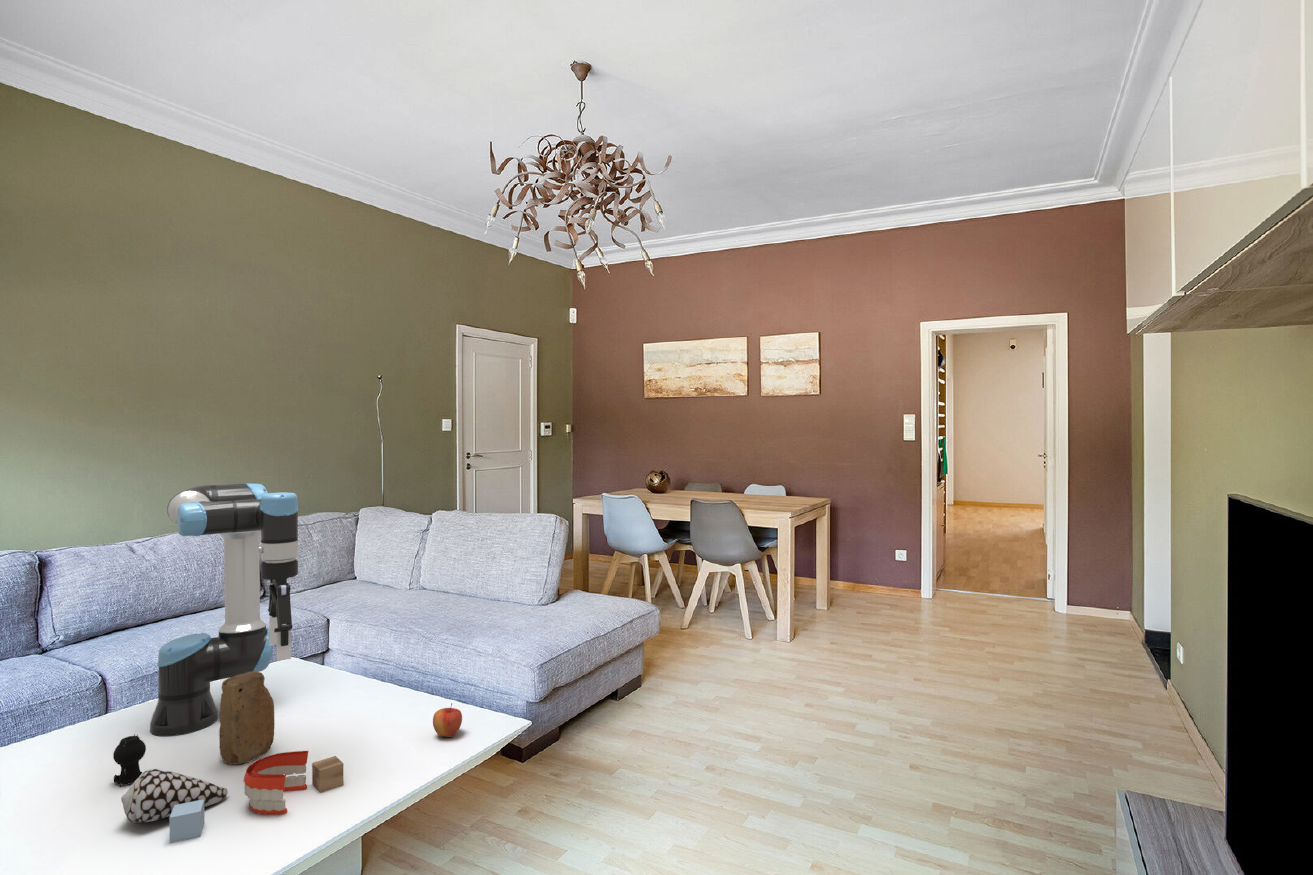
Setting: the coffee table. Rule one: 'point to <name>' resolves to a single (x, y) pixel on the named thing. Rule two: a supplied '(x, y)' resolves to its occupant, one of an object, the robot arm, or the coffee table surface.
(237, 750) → the brown rock
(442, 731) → the apple
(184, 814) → the slate block
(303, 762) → the toy
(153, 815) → the seashell
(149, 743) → the coffee table surface
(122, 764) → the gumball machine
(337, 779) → the walnut block
